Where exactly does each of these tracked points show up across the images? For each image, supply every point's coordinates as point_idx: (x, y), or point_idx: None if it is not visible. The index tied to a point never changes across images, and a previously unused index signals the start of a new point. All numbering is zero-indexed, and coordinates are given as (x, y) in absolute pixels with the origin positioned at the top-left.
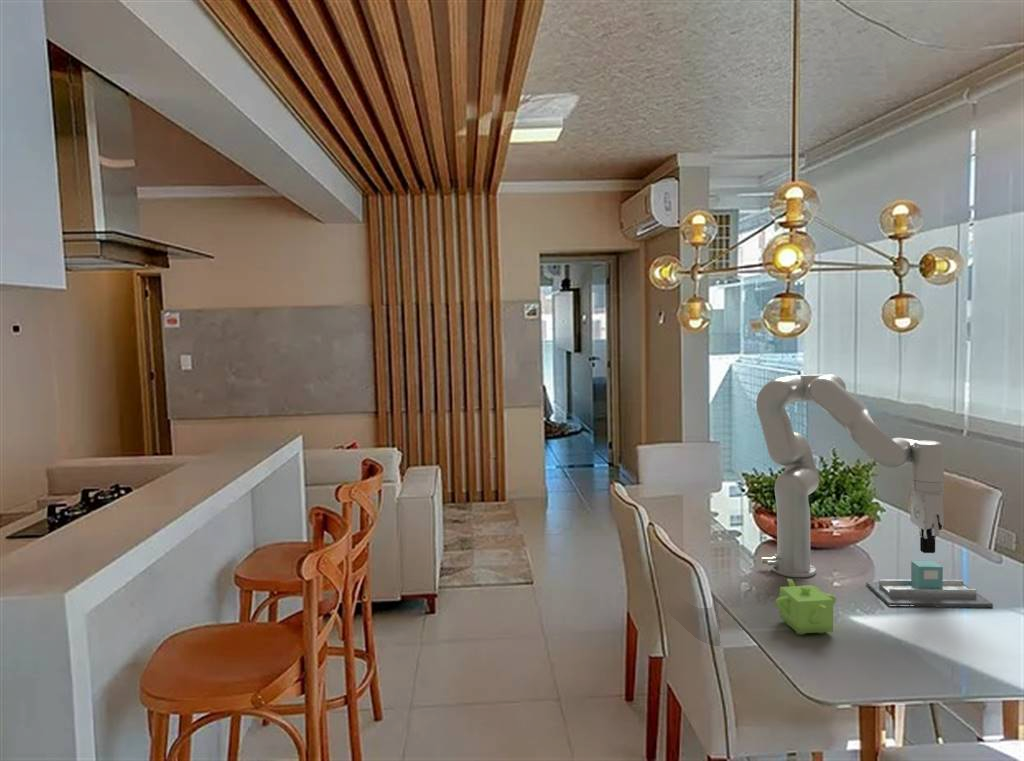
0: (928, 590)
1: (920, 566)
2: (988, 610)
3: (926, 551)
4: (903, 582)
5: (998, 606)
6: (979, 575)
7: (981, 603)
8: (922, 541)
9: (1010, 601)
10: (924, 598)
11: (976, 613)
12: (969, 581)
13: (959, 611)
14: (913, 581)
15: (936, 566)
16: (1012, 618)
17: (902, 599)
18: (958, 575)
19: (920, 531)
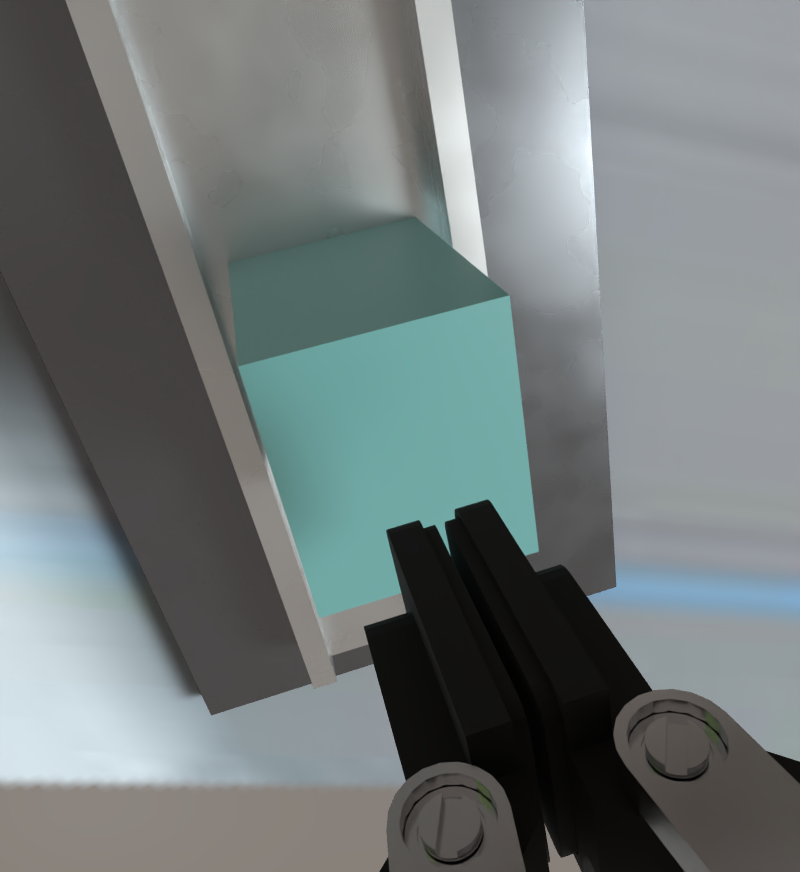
0: (196, 354)
1: (261, 383)
2: (139, 672)
3: (402, 585)
4: (430, 142)
5: (247, 719)
6: (788, 662)
7: (190, 662)
8: (459, 669)
9: (362, 767)
10: (151, 290)
11: (32, 608)
12: (689, 613)
13: (22, 512)
14: (372, 244)
15: (321, 562)
16: (32, 770)
17: (19, 47)
18: (796, 569)
19: (732, 813)
